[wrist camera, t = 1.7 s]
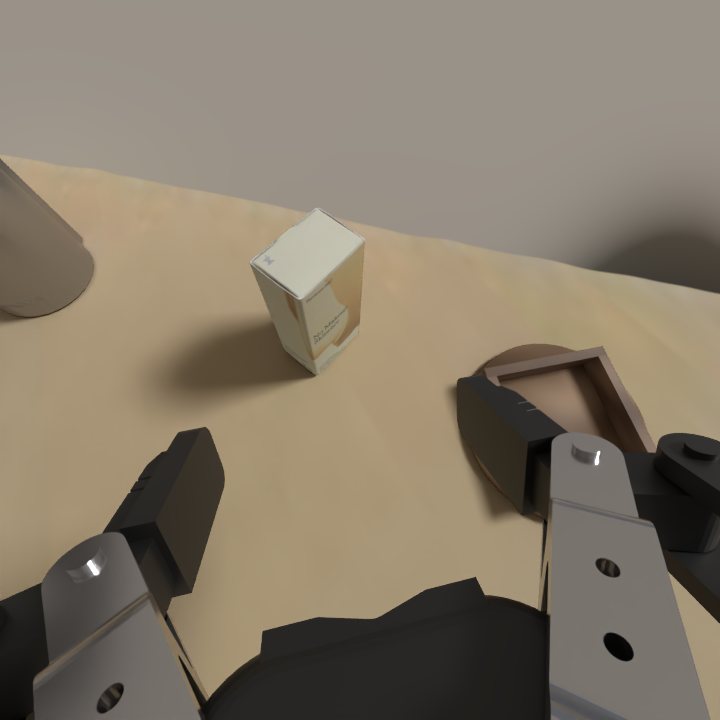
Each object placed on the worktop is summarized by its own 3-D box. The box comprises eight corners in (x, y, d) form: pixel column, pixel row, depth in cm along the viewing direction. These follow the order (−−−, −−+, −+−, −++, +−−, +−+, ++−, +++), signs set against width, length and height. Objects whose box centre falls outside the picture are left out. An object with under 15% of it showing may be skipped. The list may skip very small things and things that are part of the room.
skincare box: (317, 378, 30) (296, 305, 19) (282, 349, 31) (242, 264, 20) (362, 329, 32) (369, 237, 21) (328, 304, 33) (316, 202, 22)
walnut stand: (443, 362, 31) (452, 350, 28) (591, 335, 32) (612, 320, 30) (502, 543, 25) (519, 548, 23) (677, 500, 27) (712, 500, 24)
